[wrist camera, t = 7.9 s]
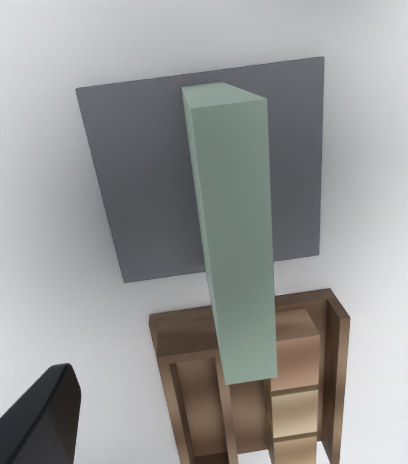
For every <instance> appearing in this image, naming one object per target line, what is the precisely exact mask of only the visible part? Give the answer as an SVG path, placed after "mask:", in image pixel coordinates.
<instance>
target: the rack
mask: <svg viewBox="0 0 408 464" xmlns="http://www.w3.org/2000/svg"><path fill="white" fill-rule="evenodd" d="M304 308H305V309H306V310H307V312H308V314H309V316H310V318H311V320H312V321H313V323H314V325H315V327H316V329H317V330H318V332H319V334H320V349H319V381H318V384H316V386H317V388H318V413H317V431H316V432H315V433H316V435H317V441H322V444H323V446H324V449H325V451H326V454H327V456H328V459H329V461H330V464H339V460H340V447H341V434H342V421H343V408H344V395H345V382H346V369H347V355H348V342H349V329H350V316H349V315H348V313H347V312H346V311H345V309H344V308H343V306H342V305H341V303H340V302H339V301H338V299H337V298H336V296H335V295H334V294H333V292H332V291H331V289H324V290H317V291H310V292H304V293H297V294H290V295H283V296H276V297H275V313H277V312H284V311H291V310H298V309H304ZM149 327H150V332H151V336H152V340H153V345H154V349H155V353H156V358H157V362H158V367H159V371H160V375H161V380H162V384H163V388H164V393H165V397H166V401H167V406H168V410H169V414H170V419H171V423H172V427H173V432H174V436H175V441H176V445H177V449H178V454H179V458H180V462H181V464H238V457H237V454H241V453H248V452H254V451H260V450H267V449H268V447H267V434H266V418H265V411H266V409H265V402H264V385H263V380H256V381H250V382H243V383H236V384H230V385H225V381H224V375H223V369H222V363H221V357H220V351H219V345H218V339H217V333H216V328H215V322H214V316H213V310H212V306H208V307H201V308H194V309H187V310H180V311H174V312H167V313H160V314H153V315H150V319H149Z"/></svg>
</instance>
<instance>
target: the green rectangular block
mask: <svg viewBox="0 0 408 464" xmlns="http://www.w3.org/2000/svg"><path fill="white" fill-rule="evenodd" d="M181 90H182V97H183V105H184V112H185V120H186V127H187V135H188V142H189V150H190V157H191V165H192V172H193V180H194V187H195V195H196V202H197V210H198V217H199V225H200V232H201V240H202V247H203V255H204V262H205V269H206V275H207V281H208V286H209V292H210V298H211V304H212V310H213V316H214V322H215V328H216V333H217V339H218V345H219V351H220V357H221V363H222V369H223V375H224V381H225V385H230V384H236V383H243V382H250V381H256V380H263V379H269V378H276V377H277V350H276V324H275V297H274V270H273V244H272V217H271V190H270V164H269V137H268V110H267V98H264V97H261V96H259V95H256V94H253V93H251V92H248V91H245V90H243V89H240V88H237V87H235V86H232V85H229V84H227V83H224V82H217V83H209V84H201V85H194V86H186V87H181Z"/></svg>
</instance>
